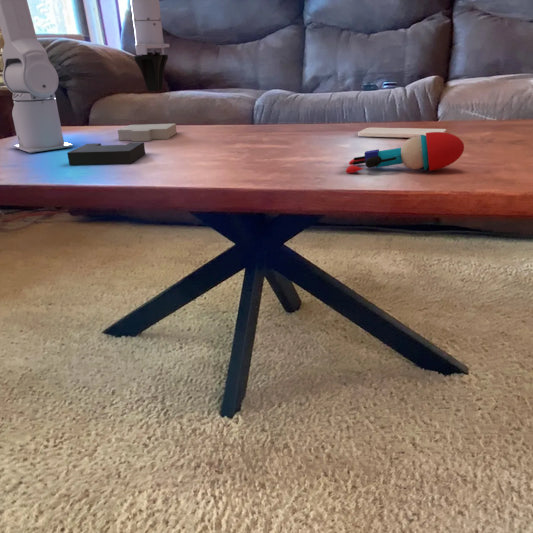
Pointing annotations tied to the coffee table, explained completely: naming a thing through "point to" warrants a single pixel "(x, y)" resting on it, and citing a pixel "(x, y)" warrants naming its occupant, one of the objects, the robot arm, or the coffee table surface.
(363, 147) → the coffee table surface
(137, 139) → the grey pad
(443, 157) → the toy figure
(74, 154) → the black pad
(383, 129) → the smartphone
